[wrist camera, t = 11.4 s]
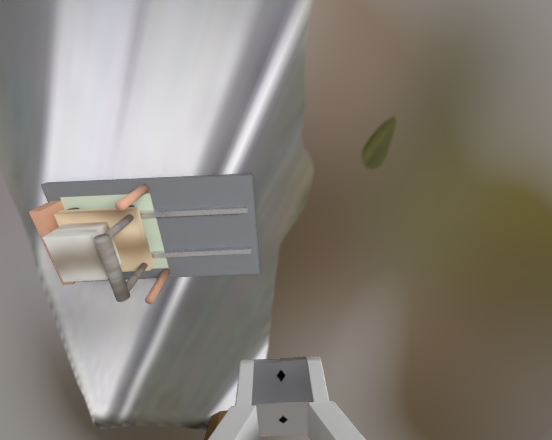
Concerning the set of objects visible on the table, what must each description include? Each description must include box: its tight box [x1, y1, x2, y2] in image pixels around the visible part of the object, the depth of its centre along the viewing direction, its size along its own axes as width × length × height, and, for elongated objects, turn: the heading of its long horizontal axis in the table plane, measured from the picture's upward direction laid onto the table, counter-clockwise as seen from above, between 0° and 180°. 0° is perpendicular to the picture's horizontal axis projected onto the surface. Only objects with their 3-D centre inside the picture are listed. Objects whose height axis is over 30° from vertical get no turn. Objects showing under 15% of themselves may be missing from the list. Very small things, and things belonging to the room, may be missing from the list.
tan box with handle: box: [43, 205, 154, 302], centre depth 36 cm, size 10×11×10 cm
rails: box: [139, 206, 252, 258], centre depth 41 cm, size 8×28×1 cm, turn 92°
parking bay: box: [29, 184, 170, 304], centre depth 38 cm, size 16×15×7 cm
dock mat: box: [41, 173, 260, 281], centre depth 42 cm, size 17×30×1 cm, turn 92°
